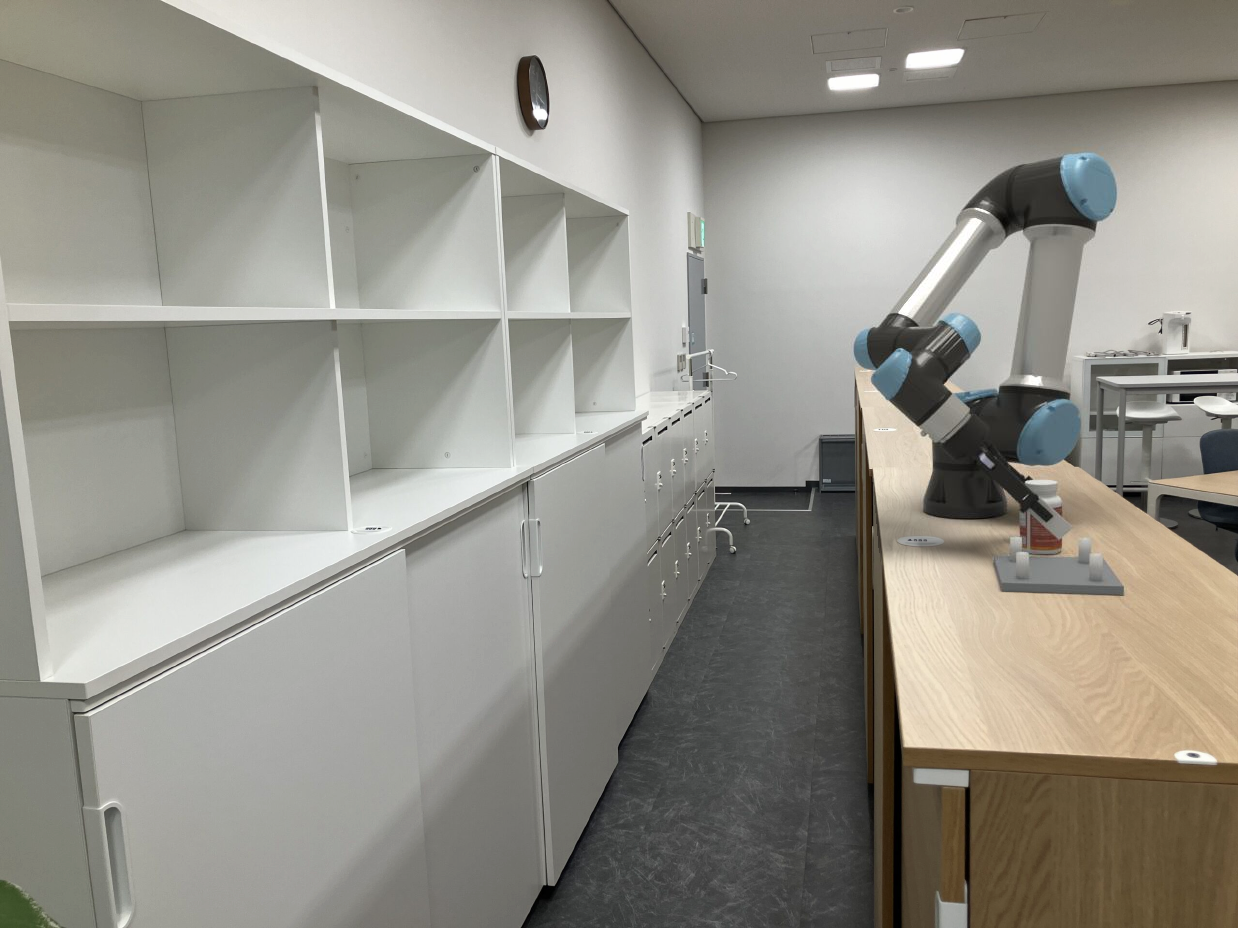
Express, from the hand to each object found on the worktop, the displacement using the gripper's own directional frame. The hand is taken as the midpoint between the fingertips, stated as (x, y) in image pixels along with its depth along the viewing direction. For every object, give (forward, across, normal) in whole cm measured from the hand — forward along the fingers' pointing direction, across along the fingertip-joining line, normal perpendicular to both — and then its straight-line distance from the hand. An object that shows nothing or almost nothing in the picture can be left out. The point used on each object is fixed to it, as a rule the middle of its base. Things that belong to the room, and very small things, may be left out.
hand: (1060, 525), depth 146 cm
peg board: (+1, +16, -5) cm, 17 cm away
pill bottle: (+1, 0, -5) cm, 5 cm away
